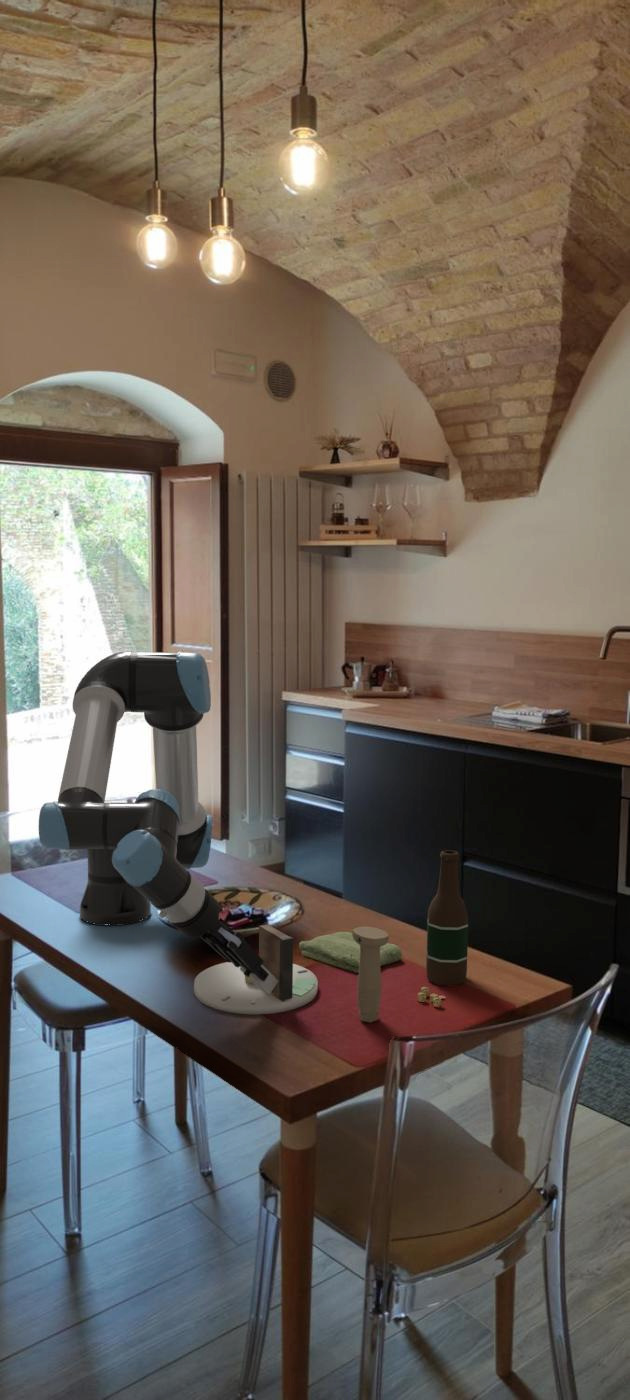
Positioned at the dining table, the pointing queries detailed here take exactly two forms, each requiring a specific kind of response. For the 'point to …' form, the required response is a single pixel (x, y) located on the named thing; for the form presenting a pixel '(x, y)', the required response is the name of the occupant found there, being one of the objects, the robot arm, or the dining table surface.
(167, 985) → the dining table surface
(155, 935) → the dining table surface
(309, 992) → the dial
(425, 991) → the dice set
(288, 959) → the wooden panel and knob
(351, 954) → the washcloth
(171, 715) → the robot arm
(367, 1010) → the handle
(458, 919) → the beer bottle
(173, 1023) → the dining table surface
